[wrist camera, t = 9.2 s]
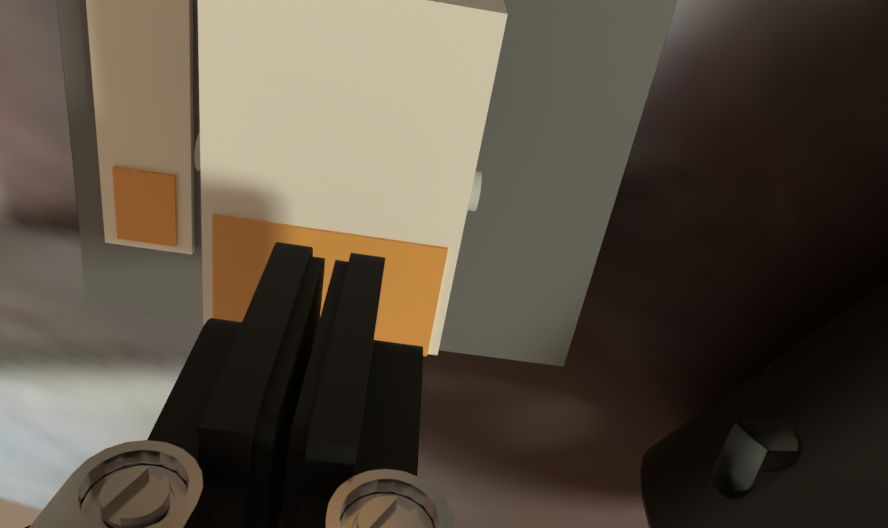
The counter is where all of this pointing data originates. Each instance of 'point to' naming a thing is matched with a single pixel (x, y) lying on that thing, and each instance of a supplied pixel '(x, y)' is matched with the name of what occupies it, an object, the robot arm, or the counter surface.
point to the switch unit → (500, 160)
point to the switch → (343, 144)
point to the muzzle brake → (787, 439)
